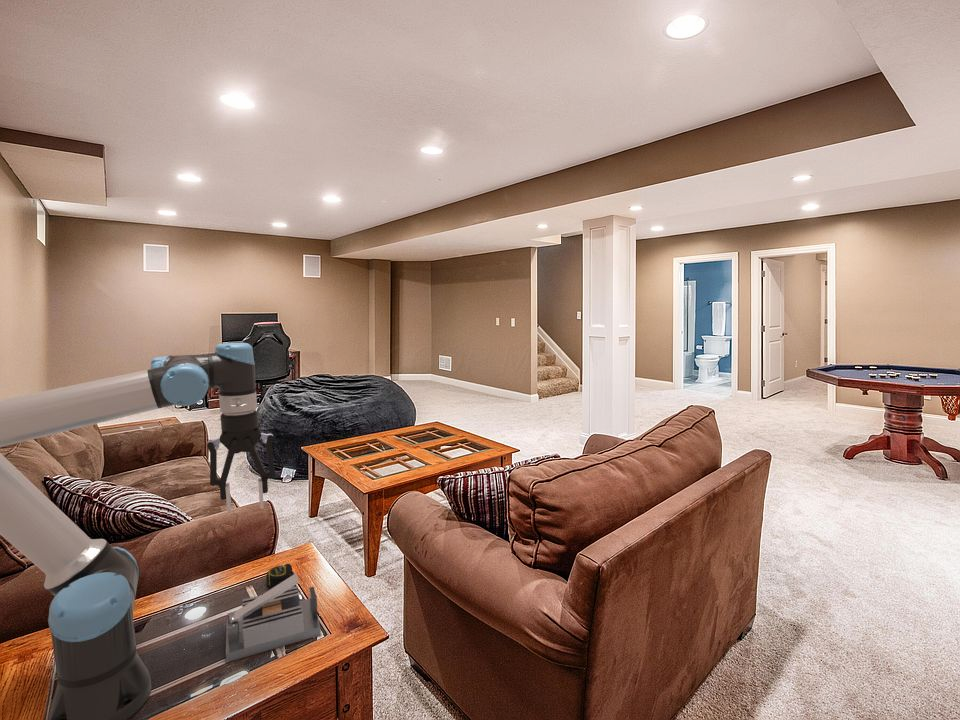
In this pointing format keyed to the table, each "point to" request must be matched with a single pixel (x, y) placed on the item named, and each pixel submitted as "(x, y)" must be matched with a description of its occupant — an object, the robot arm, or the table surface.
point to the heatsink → (273, 625)
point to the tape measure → (278, 574)
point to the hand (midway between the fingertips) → (245, 509)
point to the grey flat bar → (263, 599)
